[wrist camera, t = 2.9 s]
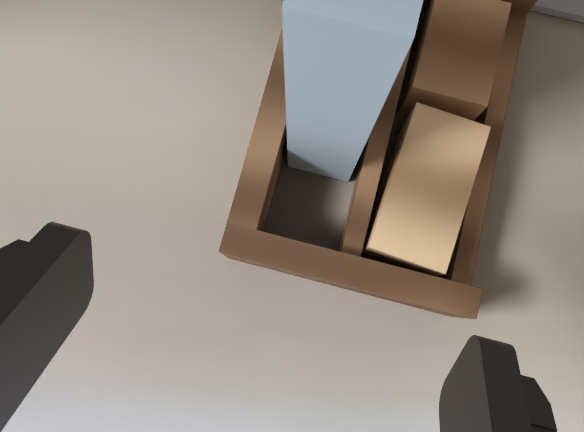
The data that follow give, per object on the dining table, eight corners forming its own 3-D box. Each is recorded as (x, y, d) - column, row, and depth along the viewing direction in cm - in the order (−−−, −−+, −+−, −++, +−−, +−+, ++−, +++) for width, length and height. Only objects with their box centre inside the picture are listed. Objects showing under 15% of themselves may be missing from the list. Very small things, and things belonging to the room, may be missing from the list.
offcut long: (425, 277, 30) (445, 274, 26) (358, 253, 30) (368, 247, 26) (465, 148, 31) (491, 126, 27) (401, 127, 31) (416, 102, 27)
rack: (451, 316, 29) (476, 319, 25) (228, 258, 30) (218, 251, 26) (516, 10, 32) (547, -30, 28) (311, -38, 33) (314, -85, 29)
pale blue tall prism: (348, 182, 31) (414, 38, 14) (287, 166, 31) (281, 6, 14) (375, 71, 32) (468, -186, 15) (317, 57, 32) (344, -213, 15)
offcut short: (463, 130, 31) (487, 106, 27) (397, 113, 31) (412, 86, 28) (484, 39, 32) (511, 3, 28) (420, 23, 32) (438, -16, 28)
